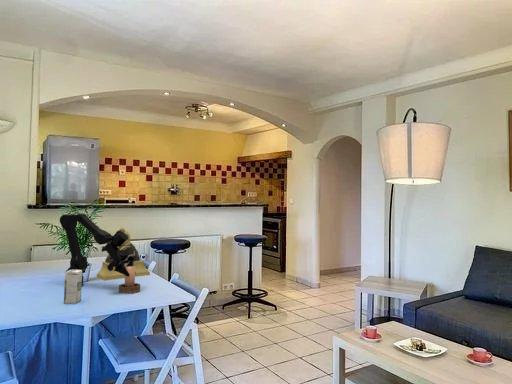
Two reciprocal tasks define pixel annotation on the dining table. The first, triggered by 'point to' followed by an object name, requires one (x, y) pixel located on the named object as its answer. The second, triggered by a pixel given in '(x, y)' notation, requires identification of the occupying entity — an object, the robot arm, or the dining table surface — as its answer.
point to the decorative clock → (138, 264)
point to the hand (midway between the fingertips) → (132, 275)
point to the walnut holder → (129, 289)
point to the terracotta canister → (131, 279)
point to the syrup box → (72, 286)
